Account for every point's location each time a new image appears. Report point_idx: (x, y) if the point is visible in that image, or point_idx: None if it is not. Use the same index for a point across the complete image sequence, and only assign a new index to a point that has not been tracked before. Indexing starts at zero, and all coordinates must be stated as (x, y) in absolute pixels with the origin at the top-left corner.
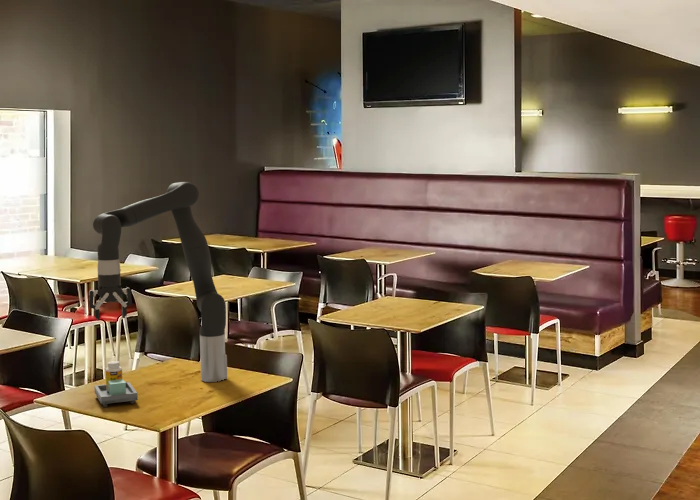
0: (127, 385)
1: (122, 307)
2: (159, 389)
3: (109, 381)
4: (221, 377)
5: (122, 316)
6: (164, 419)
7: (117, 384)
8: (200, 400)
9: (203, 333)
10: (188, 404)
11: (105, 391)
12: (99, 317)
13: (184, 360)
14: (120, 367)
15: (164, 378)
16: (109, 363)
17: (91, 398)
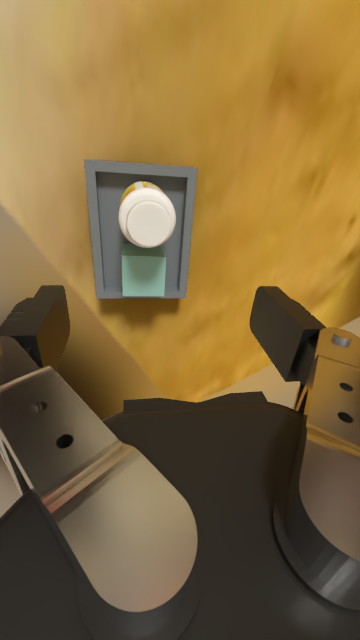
0: (185, 192)
1: (290, 368)
2: (270, 176)
3: (123, 264)
4: None
5: (257, 305)
6: (197, 386)
7: (141, 294)
8: None
9: None
10: None
11: (117, 199)
12: (63, 345)
13: None
14: (170, 229)
15: (345, 26)
16: (131, 237)
17: (78, 173)
